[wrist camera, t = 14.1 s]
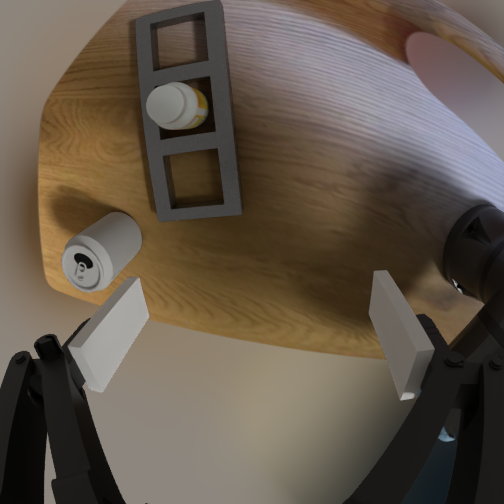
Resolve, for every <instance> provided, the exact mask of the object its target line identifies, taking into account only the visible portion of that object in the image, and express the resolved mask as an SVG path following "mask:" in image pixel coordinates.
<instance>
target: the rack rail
mask: <svg viewBox="0 0 504 504" xmlns="http://www.w3.org/2000/svg"><path fill="white" fill-rule="evenodd" d="M204 18H205V25H206V37H207V48H208V58H209V61H203V62H197V63H192V64H186V65H181V66H176V67H172V68H167V69H163V70H160V68H159V55H158V41H157V29H159V28H162V27H166V26H171V25H175V24H179V23H184V22H189V21H194V20H199V19H204ZM135 24H136V46H137V62H138V76H139V87H140V98H141V108H142V117H143V125H144V133H145V141H146V148H147V155H148V162H149V169H150V175H151V181H152V187H153V193H154V199H155V204H156V210H157V215H158V221H159V222H165V221H176V220H186V219H198V218H209V217H221V216H234V215H242V213H243V210H244V207H243V198H242V188H241V179H240V169H239V159H238V150H237V140H236V130H235V121H234V111H233V101H232V91H231V81H230V72H229V62H228V52H227V42H226V32H225V22H224V11H223V5H222V3H221V1H220V0H213V1H207V2H201V3H196V4H191V5H186V6H182V7H177V8H173V9H169V10H165V11H161V12H157V13H154V14H150V15H147V16H143V17H140V18H137V19H135ZM209 79H211V89H212V99H213V108H214V118H215V127H216V132H210V133H202V134H195V135H188V136H182V137H176V138H170V139H167V135H166V129H165V128H163V127H161V126H159V125H158V124H157V123H156V122H155V121H154V120H152V119H151V118H150V116H149V115H148V113H147V109H146V102H147V99H148V96H149V95H150V93H151V92H152V91H153V90H154V89H155V88H157V87H159V86H162V85H165V84H168V83H172V82H180V83H184V84H185V83H191V82H196V81H202V80H209ZM214 148H218V154H219V163H220V171H221V180H222V188H223V196H224V200H217V201H206V202H196V203H186V204H176V198H175V192H174V185H173V179H172V172H171V165H170V158H169V155H171V154H177V153H184V152H191V151H198V150H206V149H214Z"/></svg>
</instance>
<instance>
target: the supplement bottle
mask: <svg viewBox="0 0 504 504" xmlns="http://www.w3.org/2000/svg"><path fill="white" fill-rule="evenodd" d="M146 109H147V113H148V115H149V116H150V118H151V119H152V120H154V121H155V122H156V123H157V124H158V125H159V126H161V127H163V128H165V129H170V130H178V129H192V128H195V127H197V126H199V125H201V124H202V123H203V122H204V121H205V119H206V118H207V116H208V113H209V103H208V100H207V98H206V96H205V95H204V94H203V93H202V92H200V91H199V90H197V89H195V88H192V87H190V86H188V85H186V84H184V83H180V82H172V83H168V84H165V85H162V86H159V87H157V88H155V89H154V90H153V91H152V92H151V93H150V95H149V96H148V99H147V102H146Z"/></svg>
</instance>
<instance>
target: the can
mask: <svg viewBox="0 0 504 504" xmlns="http://www.w3.org/2000/svg"><path fill="white" fill-rule="evenodd" d="M141 245H142V235H141V231H140V229H139V227H138V225H137V223H136V222H135V221H134V220H133V219H132V218H131V217H130V216H128V215H126V214H124V213H121V212H112V213H109V214H107V215H106V216H104V217H103V218H101V219H100V220H98V221H97V222H95V223H94V224H92V225H91V226H89V227H88V228H86V229H85V230H83V231H82V232H80V233H79V234H77V235H76V236H74V237H73V238H71V239H70V240H69V241H68V243H67V244H66V246H65V250H64V252H63V254H62V260H61V262H62V268H63V271H64V274H65V276H66V277H67V279H68V281H69V282H70V283H71V284H72V285H73V286H74V287H76V288H77V289H79V290H81V291H84V292H94V291H100V290H102V289H105V288H106V287H107V286H108V285H109V284H110V283H111V282H112V281H113V280H114V278H115V277H116V276H117V275H118V274H119V273H120V272H121V271H122V270H123V268H124V267H125V266H126V265H127V264H128V263H129V262H130V261H131V260H132V259H133V258H134V257H135V255H136V254H137V253H138V252H139V250H140V248H141Z"/></svg>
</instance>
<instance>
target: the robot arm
mask: <svg viewBox="0 0 504 504" xmlns="http://www.w3.org/2000/svg"><path fill="white" fill-rule="evenodd" d="M443 266H444V271H445V275H446V277H447V279H448V281H449V282H450V283H451V284H452V285H453V286H454V287H455V289H456V290H457V291H459V292H460V293H462V294H464V295H466V296H469V297H471V298H474V299H476V300H479V301H481V302H483V303H484V304H485V305H484V306H483V308H482V309H481V310H480V311H479V312H478V313H477V314H476V316H475V317H474V318H473V319H472V320H471V321H470V322H469V324H468V325H467V326H466V327H465V328H464V329H463V330H462V331H461V332H460V333H459V334H458V336H457V337H456V338H455V339H454V340H453V341H452V342H451V343H450V344H449V345H447V343H446V341H445V340H444V338H443V337H442V335H441V333H440V332H439V330H438V329H437V328H436V325H435V324H434V322H433V321H432V319H430V318H429V317H428V316H426V315H425V314H419V315H415V314H414V312H413V310H412V309H411V307H410V306H409V304H408V302H407V301H406V299H405V297H404V296H403V294H402V293H401V291H400V290H399V288H398V286H397V285H396V283H395V282H394V280H393V279H392V277H391V276H390V274H389V273H388V271H387V270H381V271H374V275H373V284H372V292H371V300H370V307H369V316H370V318H371V321H372V324H373V326H374V329H375V331H376V334H377V336H378V339H379V342H380V344H381V347H382V350H383V352H384V355H385V358H386V360H387V363H388V366H389V369H390V371H391V374H392V377H393V380H394V383H395V386H396V389H397V392H398V395H399V398H400V400H405V399H411V398H416V397H417V395H418V399H417V400H416V403H415V404H414V406H413V408H412V409H411V411H410V413H409V414H408V416H407V418H406V419H405V421H404V423H403V424H402V426H401V428H400V429H399V431H398V432H397V434H396V435H395V437H394V439H393V440H392V442H391V443H390V445H389V446H388V448H387V449H386V451H385V452H384V453H383V455H382V456H381V458H380V459H379V460H378V462H377V463H376V465H375V466H374V467H373V469H372V470H371V471H370V473H369V474H368V475H367V477H366V478H365V479H364V480H363V482H362V483H361V484H360V485H359V487H358V488H357V489H356V490H355V492H354V493H353V494H352V495H351V496H350V497H349V498H348V499H347V500H346V501H345V502H344V503H343V504H400V503H401V502H402V500H403V499H404V497H405V495H406V494H407V492H408V491H409V489H410V488H411V486H412V484H413V483H414V481H415V480H416V478H417V476H418V474H419V473H420V471H421V469H422V467H423V466H424V464H425V462H426V460H427V458H428V456H429V454H430V453H431V450H432V449H433V447H434V445H435V443H436V441H437V439H438V438H439V439H441V440H443V441H452V440H454V439H456V441H457V448H456V454H455V460H454V466H453V471H452V476H451V481H450V485H449V490H448V494H447V498H446V502H445V504H504V212H503V211H501V210H499V209H497V208H495V207H493V206H490V205H480V206H476V207H474V208H472V209H470V210H469V211H467V212H466V213H465V214H464V215H463V216H462V217H461V218H460V219H459V220H458V221H457V223H456V224H455V225H454V227H453V229H452V230H451V232H450V234H449V237H448V239H447V242H446V245H445V249H444V256H443ZM148 318H149V313H148V310H147V306H146V302H145V299H144V295H143V291H142V287H141V283H140V279H139V277H127V279H126V280H125V281H124V282H123V283H122V284H121V285H120V286H119V287H118V288H117V289H116V291H115V292H114V293H113V294H112V295H111V296H110V297H109V298H108V299H107V301H106V302H105V303H104V304H103V305H102V306H101V307H100V309H99V310H98V311H97V312H96V313H95V314H94V315H93V316H92V318H89V319H87V320H86V321H84V322H83V323H82V324H81V325H80V326H79V327H78V328H77V330H76V331H75V332H74V333H73V335H71V337H70V338H69V339H68V340H67V341H66V342H65V343H64V345H63V346H62V347H61V345H60V343H59V341H58V339H57V336H56V335H54V334H48V335H44V336H42V337H40V338H39V339H37V341H36V342H35V343H34V348H35V349H36V352H37V354H38V356H39V357H40V359H32V357H31V355H30V353H29V352H27V351H21V352H18V353H16V354H15V355H14V356H13V357H12V358H11V360H10V362H9V365H8V368H7V370H6V373H5V376H4V379H3V382H2V385H1V388H0V504H44V470H45V454H46V441H47V431H48V437H49V443H50V449H51V454H52V458H53V463H54V468H55V472H56V479H53V480H52V482H51V485H52V490H53V494H54V498H55V501H56V504H126V503H125V501H124V499H123V498H122V495H121V493H120V491H119V489H118V486H117V484H116V482H115V480H114V477H113V475H112V472H111V470H110V467H109V465H108V462H107V460H106V457H105V454H104V452H103V449H102V446H101V444H100V440H99V437H98V435H97V431H96V428H95V426H94V422H93V419H92V415H91V412H90V409H89V405H88V402H87V398H86V394H85V391H84V389H83V387H82V386H83V384H84V383H85V381H86V383H87V385H88V387H89V389H90V390H93V391H97V392H101V393H103V391H104V390H105V388H106V386H107V385H108V383H109V381H110V379H111V378H112V376H113V374H114V373H115V371H116V369H117V368H118V366H119V365H120V363H121V361H122V360H123V358H124V356H125V355H126V353H127V351H128V350H129V348H130V347H131V345H132V343H133V342H134V340H135V339H136V337H137V335H138V334H139V332H140V331H141V329H142V327H143V326H144V324H145V323H146V321H147V320H148ZM146 504H147V503H146Z"/></svg>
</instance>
